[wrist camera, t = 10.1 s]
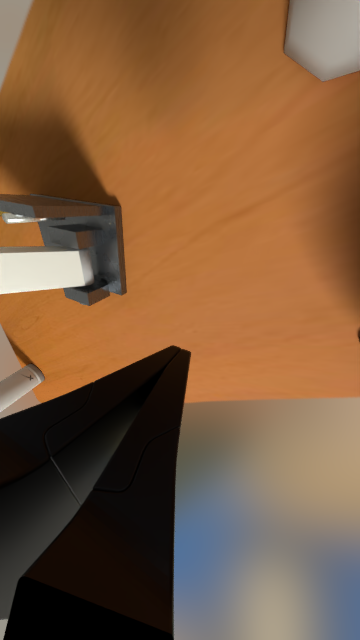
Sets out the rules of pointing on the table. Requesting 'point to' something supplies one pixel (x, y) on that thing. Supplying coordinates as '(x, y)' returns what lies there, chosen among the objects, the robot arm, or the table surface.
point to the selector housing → (77, 237)
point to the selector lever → (44, 268)
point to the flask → (324, 36)
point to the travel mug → (19, 384)
